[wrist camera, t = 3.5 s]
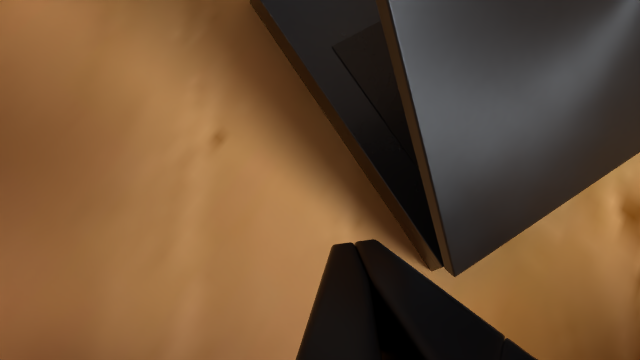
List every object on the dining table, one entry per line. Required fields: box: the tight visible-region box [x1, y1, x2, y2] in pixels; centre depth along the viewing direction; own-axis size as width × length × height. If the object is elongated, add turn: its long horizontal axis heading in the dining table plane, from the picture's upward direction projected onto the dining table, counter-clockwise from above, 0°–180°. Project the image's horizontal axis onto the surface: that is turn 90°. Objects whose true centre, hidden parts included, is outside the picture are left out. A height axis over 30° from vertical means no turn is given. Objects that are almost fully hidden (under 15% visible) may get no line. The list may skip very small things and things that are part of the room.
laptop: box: [250, 0, 444, 271], centre depth 25 cm, size 17×21×2 cm
